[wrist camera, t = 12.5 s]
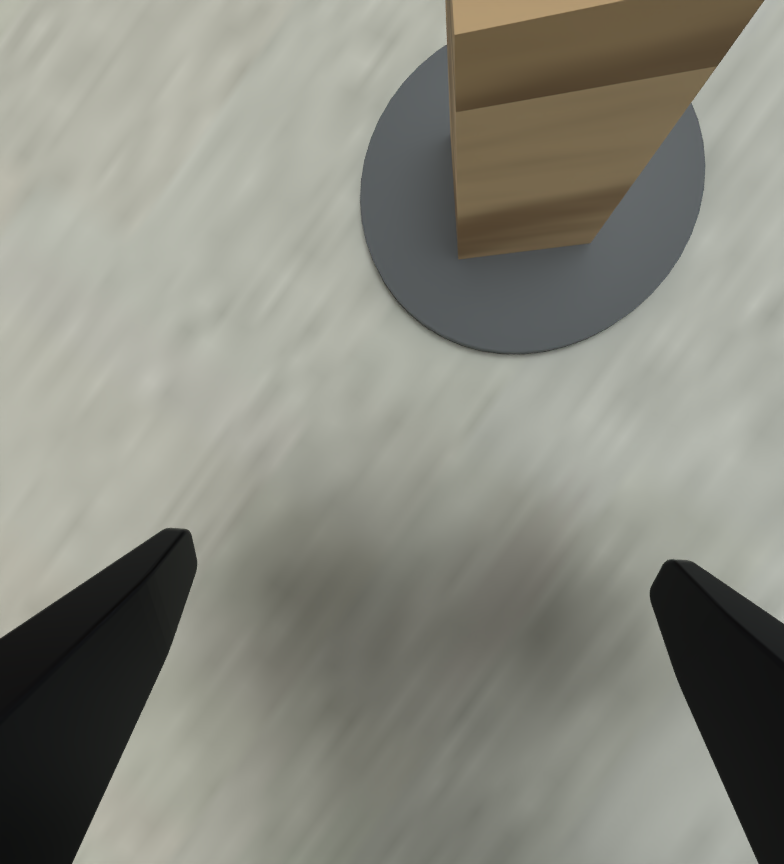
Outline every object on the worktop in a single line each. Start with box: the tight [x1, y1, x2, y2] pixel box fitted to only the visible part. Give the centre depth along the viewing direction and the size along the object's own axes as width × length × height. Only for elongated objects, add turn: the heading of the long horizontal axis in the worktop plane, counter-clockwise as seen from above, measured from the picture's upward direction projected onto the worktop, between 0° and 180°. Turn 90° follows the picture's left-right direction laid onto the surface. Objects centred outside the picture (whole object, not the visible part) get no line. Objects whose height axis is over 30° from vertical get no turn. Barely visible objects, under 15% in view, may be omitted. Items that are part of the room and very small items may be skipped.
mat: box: [360, 45, 705, 354], centre depth 19 cm, size 14×14×1 cm
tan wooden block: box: [445, 0, 764, 259], centre depth 13 cm, size 5×5×11 cm
